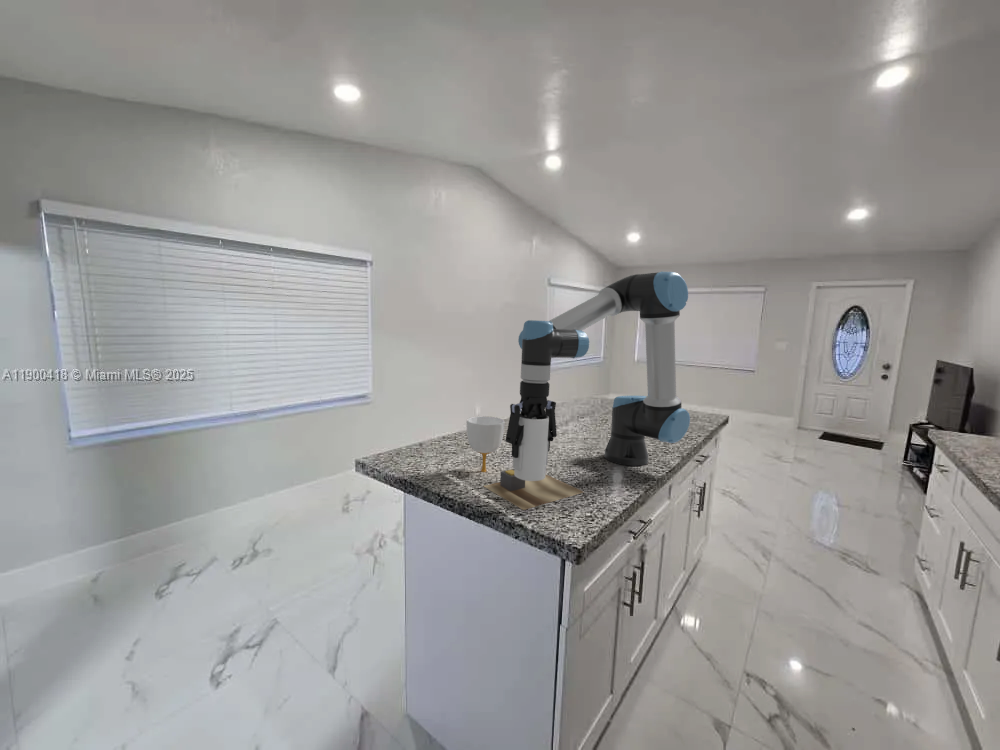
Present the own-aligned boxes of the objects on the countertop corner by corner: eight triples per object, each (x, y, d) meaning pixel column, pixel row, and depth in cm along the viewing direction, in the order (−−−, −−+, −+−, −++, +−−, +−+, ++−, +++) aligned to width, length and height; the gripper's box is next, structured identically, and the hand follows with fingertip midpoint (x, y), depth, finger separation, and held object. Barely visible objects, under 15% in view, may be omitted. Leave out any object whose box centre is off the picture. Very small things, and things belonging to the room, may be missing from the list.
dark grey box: (514, 481, 123) (514, 467, 122) (524, 487, 119) (525, 472, 118) (500, 485, 120) (500, 470, 120) (510, 491, 116) (511, 475, 116)
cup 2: (551, 479, 109) (554, 418, 107) (522, 482, 106) (525, 420, 104) (536, 468, 117) (540, 412, 115) (509, 471, 114) (512, 413, 112)
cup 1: (475, 483, 123) (477, 426, 121) (458, 470, 133) (460, 417, 131) (509, 477, 129) (512, 423, 127) (490, 465, 139) (492, 415, 137)
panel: (541, 475, 132) (541, 472, 132) (584, 495, 118) (584, 491, 118) (482, 489, 119) (483, 485, 119) (523, 513, 105) (523, 509, 105)
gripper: (554, 377, 118) (549, 456, 120) (493, 380, 105) (489, 468, 108) (574, 381, 112) (568, 464, 114) (511, 384, 99) (507, 478, 102)
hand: (530, 466), depth 111 cm, fingers closed on cup 2, 8 cm apart
